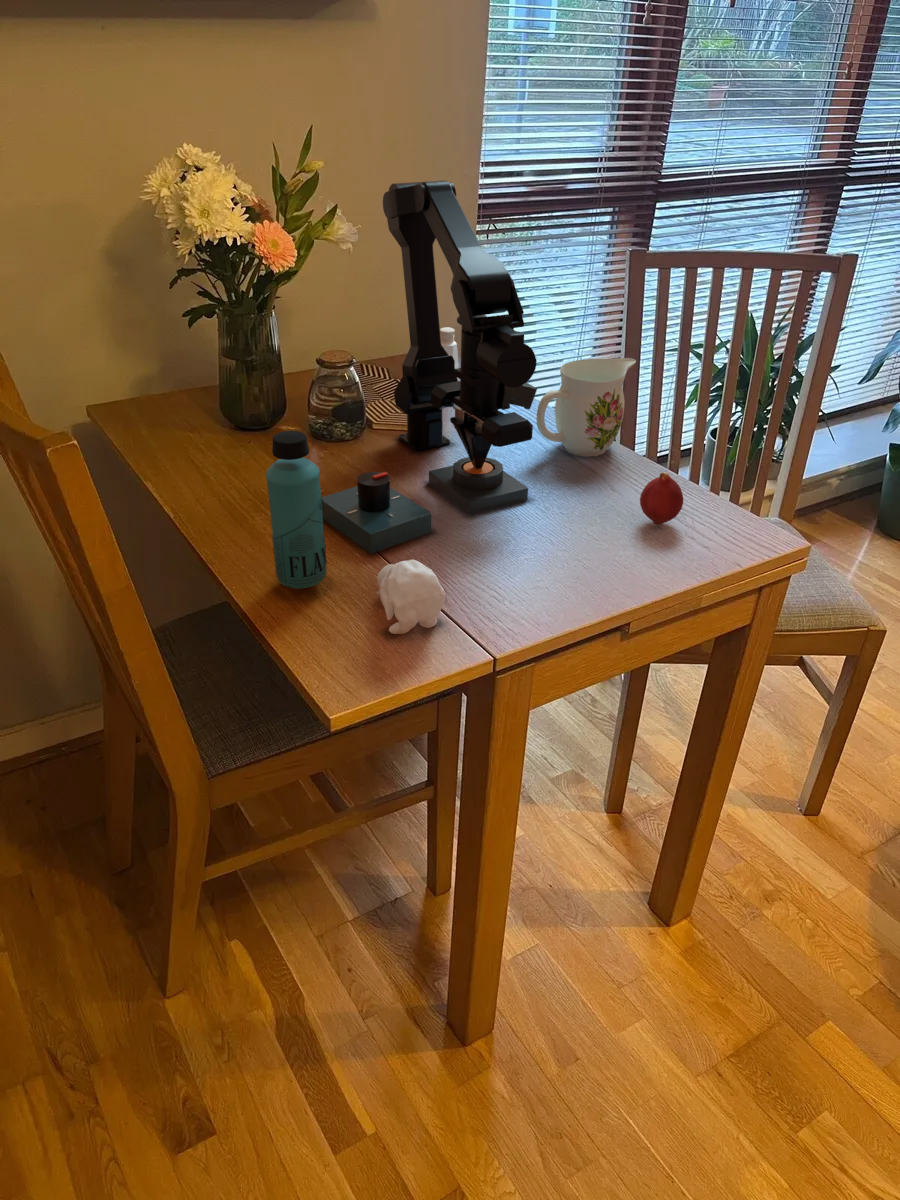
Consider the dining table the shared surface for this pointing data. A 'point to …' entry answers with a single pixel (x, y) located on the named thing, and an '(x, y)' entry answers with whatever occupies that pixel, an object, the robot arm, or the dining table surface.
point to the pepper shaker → (449, 344)
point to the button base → (478, 486)
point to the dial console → (376, 520)
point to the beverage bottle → (296, 513)
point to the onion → (661, 499)
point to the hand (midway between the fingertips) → (477, 467)
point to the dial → (373, 491)
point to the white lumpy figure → (410, 595)
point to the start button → (484, 470)
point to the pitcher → (587, 405)
